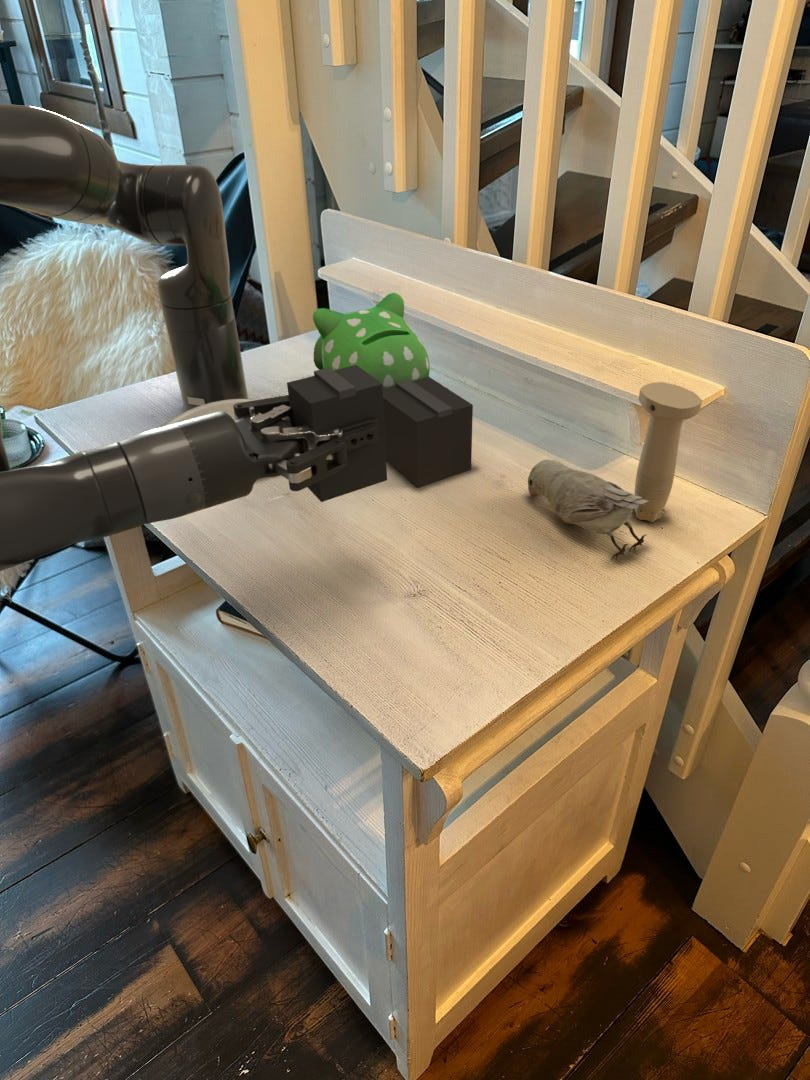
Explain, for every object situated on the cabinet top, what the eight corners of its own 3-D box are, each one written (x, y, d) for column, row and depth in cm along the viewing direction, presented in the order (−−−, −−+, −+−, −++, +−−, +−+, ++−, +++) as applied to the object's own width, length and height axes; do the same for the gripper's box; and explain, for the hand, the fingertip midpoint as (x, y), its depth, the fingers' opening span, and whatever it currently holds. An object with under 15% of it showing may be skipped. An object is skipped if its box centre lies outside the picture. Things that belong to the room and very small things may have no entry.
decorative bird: (547, 488, 92) (553, 433, 88) (651, 552, 81) (663, 493, 77) (513, 502, 90) (517, 447, 85) (616, 570, 79) (626, 511, 75)
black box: (298, 478, 73) (285, 378, 67) (362, 458, 76) (355, 360, 70) (321, 502, 70) (310, 399, 63) (387, 480, 72) (382, 379, 66)
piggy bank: (387, 376, 120) (382, 281, 111) (448, 420, 107) (449, 316, 99) (304, 398, 115) (293, 299, 106) (359, 447, 102) (351, 339, 93)
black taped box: (378, 453, 100) (374, 388, 95) (429, 437, 103) (428, 373, 98) (417, 487, 93) (416, 419, 88) (471, 469, 96) (473, 401, 91)
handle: (653, 535, 84) (678, 412, 75) (612, 508, 88) (630, 389, 79) (684, 521, 86) (711, 400, 77) (642, 496, 90) (663, 378, 81)
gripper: (205, 466, 56) (401, 408, 63) (151, 395, 66) (326, 352, 73) (222, 546, 61) (404, 484, 68) (169, 469, 71) (332, 422, 78)
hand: (362, 416), depth 70 cm, fingers closed on black box, 5 cm apart
